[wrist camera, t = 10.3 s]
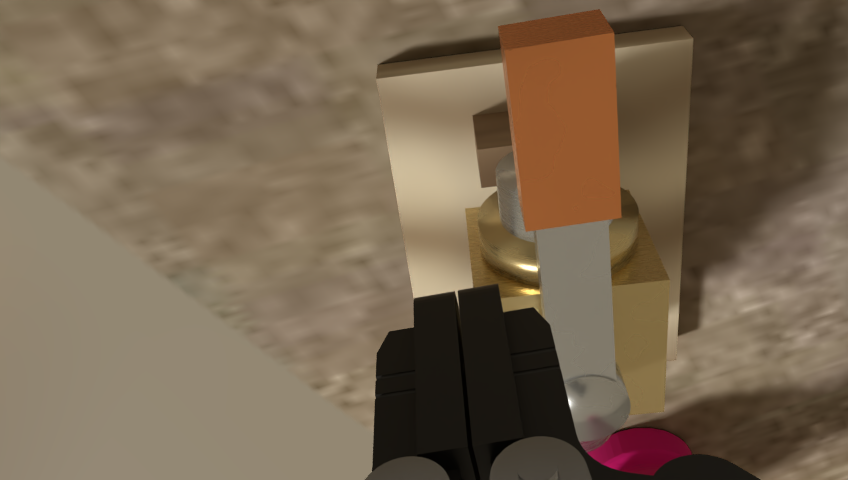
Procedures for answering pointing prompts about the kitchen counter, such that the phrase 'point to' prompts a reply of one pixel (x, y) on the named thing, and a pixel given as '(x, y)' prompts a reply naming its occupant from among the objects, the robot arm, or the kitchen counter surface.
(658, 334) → the ball valve
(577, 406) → the lever
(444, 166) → the board
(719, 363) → the kitchen counter surface
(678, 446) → the pepper mill
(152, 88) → the kitchen counter surface
